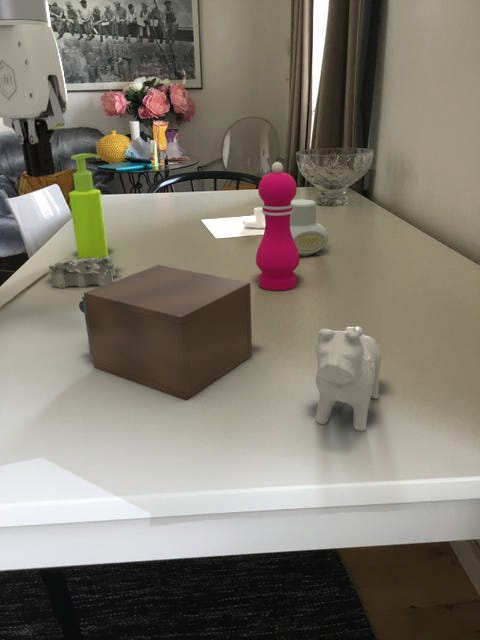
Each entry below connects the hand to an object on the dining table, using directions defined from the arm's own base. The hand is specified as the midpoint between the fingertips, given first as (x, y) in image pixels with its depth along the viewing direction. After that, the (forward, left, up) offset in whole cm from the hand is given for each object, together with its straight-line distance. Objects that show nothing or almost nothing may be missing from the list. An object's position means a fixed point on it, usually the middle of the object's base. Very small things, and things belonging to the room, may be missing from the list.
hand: (41, 175), depth 73 cm
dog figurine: (+38, -22, -21) cm, 49 cm away
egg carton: (-4, +20, -21) cm, 29 cm away
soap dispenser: (-7, +35, -21) cm, 42 cm away
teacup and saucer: (+22, +62, -21) cm, 69 cm away
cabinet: (+18, -11, -21) cm, 30 cm away
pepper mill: (+30, +18, -21) cm, 41 cm away
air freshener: (+34, +38, -21) cm, 55 cm away
